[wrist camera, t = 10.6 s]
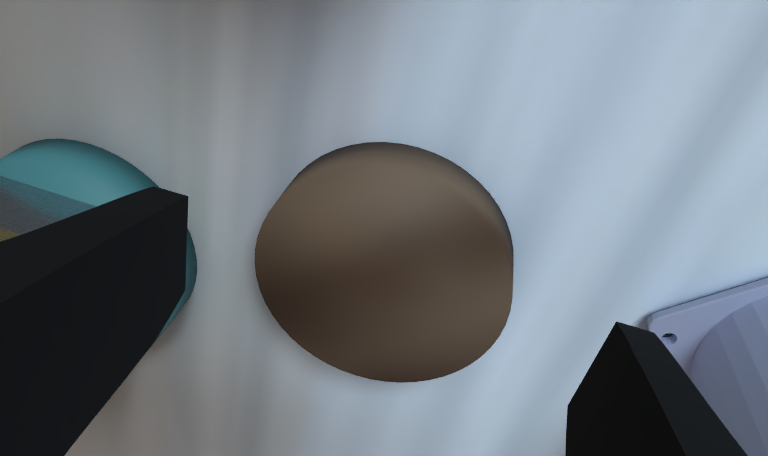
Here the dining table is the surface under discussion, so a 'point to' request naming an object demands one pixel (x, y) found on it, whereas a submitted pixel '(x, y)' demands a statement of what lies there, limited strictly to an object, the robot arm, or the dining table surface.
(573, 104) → the dining table surface
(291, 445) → the dining table surface
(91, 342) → the robot arm
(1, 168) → the stand
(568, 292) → the dining table surface
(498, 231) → the stand
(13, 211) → the block
